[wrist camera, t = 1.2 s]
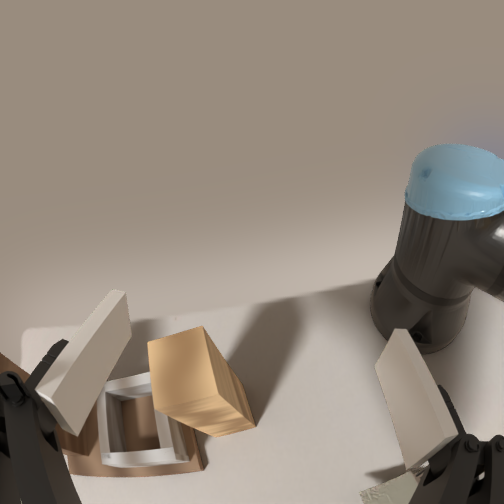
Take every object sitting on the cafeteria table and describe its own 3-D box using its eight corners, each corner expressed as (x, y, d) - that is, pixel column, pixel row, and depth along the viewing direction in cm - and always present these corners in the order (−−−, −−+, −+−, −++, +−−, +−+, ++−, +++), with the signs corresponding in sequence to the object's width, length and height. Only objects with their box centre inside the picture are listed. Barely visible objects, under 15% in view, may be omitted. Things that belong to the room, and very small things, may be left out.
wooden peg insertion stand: (182, 372, 34) (94, 278, 20) (204, 470, 24) (86, 450, 10) (70, 395, 32) (-23, 326, 18) (74, 474, 22) (-41, 431, 8)
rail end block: (241, 382, 32) (201, 322, 21) (255, 426, 27) (218, 393, 17) (204, 392, 31) (147, 339, 21) (215, 437, 27) (154, 408, 16)
